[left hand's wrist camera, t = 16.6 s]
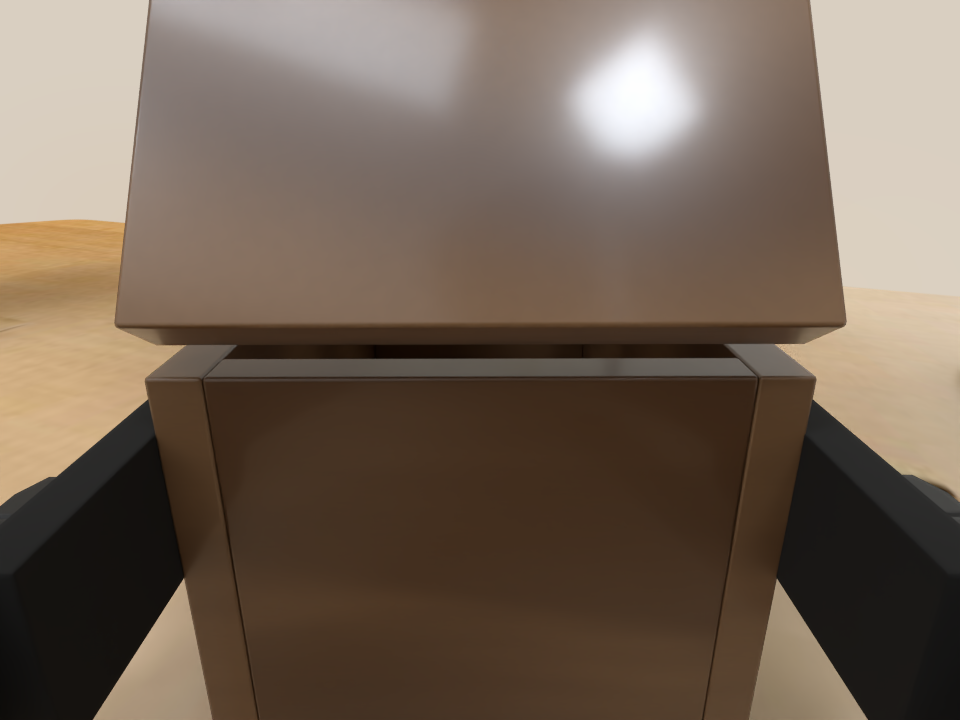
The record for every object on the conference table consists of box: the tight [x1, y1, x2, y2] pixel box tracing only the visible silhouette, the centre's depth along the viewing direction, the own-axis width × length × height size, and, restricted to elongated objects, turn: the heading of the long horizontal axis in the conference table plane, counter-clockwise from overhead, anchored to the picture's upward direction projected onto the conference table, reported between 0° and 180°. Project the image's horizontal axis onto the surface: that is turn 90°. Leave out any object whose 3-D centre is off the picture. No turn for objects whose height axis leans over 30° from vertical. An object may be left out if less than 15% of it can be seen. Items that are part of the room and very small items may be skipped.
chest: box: [145, 344, 816, 720], centre depth 19 cm, size 16×10×9 cm, turn 0°
